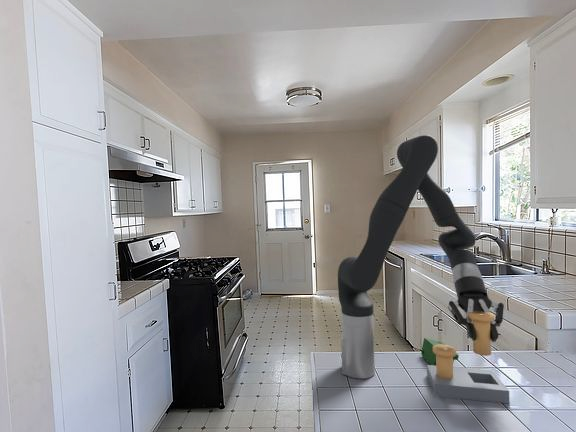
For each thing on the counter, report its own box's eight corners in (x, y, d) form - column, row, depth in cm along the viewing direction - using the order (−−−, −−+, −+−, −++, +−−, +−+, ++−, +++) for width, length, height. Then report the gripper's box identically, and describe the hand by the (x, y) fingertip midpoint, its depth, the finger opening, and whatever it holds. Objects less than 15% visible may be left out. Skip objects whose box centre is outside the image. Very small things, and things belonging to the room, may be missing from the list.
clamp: (450, 383, 96) (463, 360, 93) (430, 378, 96) (443, 356, 93) (436, 352, 107) (447, 331, 104) (419, 348, 107) (429, 327, 104)
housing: (435, 395, 81) (434, 355, 82) (427, 375, 92) (426, 340, 92) (509, 403, 78) (508, 361, 78) (492, 381, 88) (491, 344, 88)
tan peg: (473, 356, 82) (472, 316, 82) (466, 347, 88) (465, 310, 88) (498, 357, 81) (497, 317, 81) (490, 349, 86) (489, 311, 86)
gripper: (443, 274, 93) (456, 331, 81) (499, 275, 90) (521, 334, 78) (440, 289, 98) (451, 344, 86) (492, 290, 95) (512, 348, 83)
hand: (484, 339), depth 82 cm, fingers closed on tan peg, 4 cm apart
